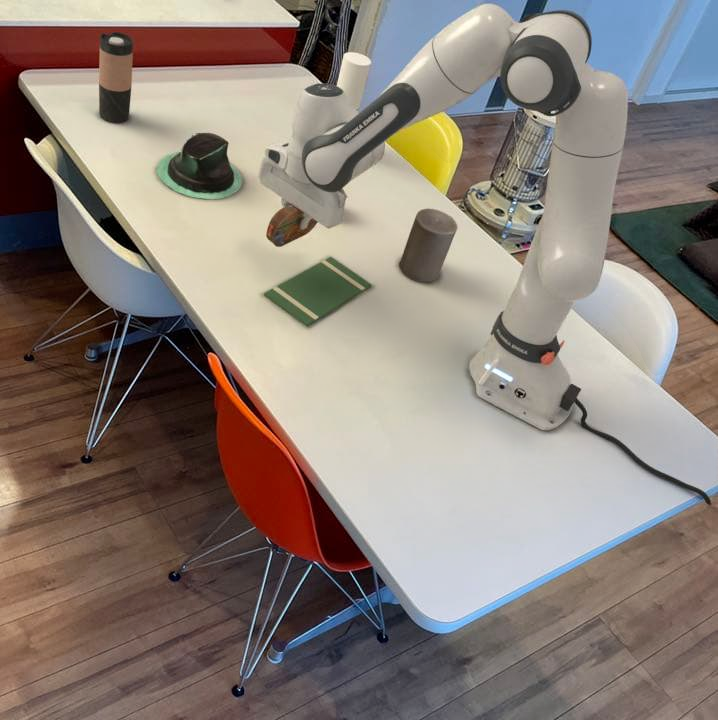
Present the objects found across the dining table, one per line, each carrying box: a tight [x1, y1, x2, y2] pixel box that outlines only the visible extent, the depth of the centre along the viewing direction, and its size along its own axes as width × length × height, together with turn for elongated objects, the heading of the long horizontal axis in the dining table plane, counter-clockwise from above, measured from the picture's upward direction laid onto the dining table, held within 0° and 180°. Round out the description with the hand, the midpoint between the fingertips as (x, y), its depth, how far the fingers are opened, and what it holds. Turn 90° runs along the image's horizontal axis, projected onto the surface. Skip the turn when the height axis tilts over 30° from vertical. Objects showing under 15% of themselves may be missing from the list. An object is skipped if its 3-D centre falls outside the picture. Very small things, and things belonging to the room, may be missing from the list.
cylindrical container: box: [336, 51, 372, 112], centre depth 205 cm, size 7×7×25 cm
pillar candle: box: [398, 208, 458, 283], centre depth 176 cm, size 10×10×15 cm
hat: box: [156, 132, 243, 200], centre depth 186 cm, size 15×19×20 cm
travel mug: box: [98, 31, 134, 124], centre depth 190 cm, size 8×8×20 cm
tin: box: [265, 204, 318, 248], centre depth 161 cm, size 15×3×8 cm, turn 142°
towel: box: [263, 256, 373, 327], centre depth 166 cm, size 12×22×1 cm, turn 142°
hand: (294, 222), depth 161 cm, fingers closed on tin, 2 cm apart
